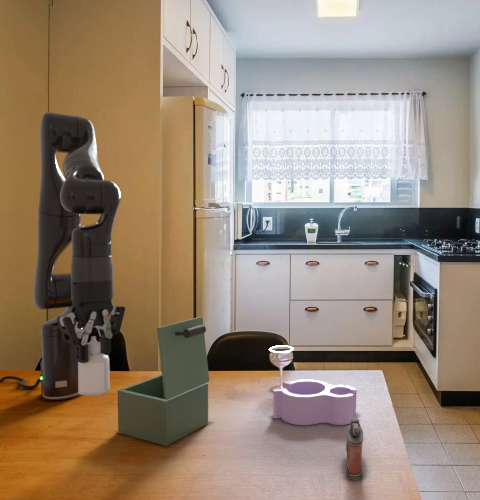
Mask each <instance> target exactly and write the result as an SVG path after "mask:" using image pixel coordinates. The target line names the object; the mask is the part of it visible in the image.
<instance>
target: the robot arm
mask: <svg viewBox="0 0 480 500" xmlns="http://www.w3.org/2000/svg"><path fill="white" fill-rule="evenodd" d="M39 151H40V156H39V157H40V158H39V159H40V182H39V196H38V197H39V198H38V206H37V207H38V209H37V251H36V252H37V253H36V261H35V270H34V278H33V287H32V288H33V289H32V297H33V303H34V305H35V307H36V308H37V309H39V310H52V309H55V310H56V309H63V308H65V310H64V311H63V312H61V313H60V314H59V315H57V316H55V317H54V318H51V319H49V320H47V321H44V322H43V323H42V324H41V326H40V333H41V361H40V373H39V378H37V379H36V382H35V384H33V385H28V384H25V383H26V379H25V378H22V377H19V376H14V375H5V376H2V377H1V378H0V383H2V382H3V381H5V380H14V381H18V382H19V383H18V386H19V387H20V388H23V389H27V390H28V389H29V390H32V389H33V390H34V389H36V388H38V386H39V385H40V388H41V389H40V392H41V394H40V395H41V396H42V399H43V400H46V401H63V400H64V401H65V400H68V399H69V400H70V399H73V398H76V397H79V396H80V395H81V394H79V392H78V362H80V363H87V362H88V345H87V343H88V340H89V336H90V334H92V332H93V328H96V330H97V333H98V335H99V337H100V338H98V342H100V353H103V354H105V355H107V356H108V357H109V356H110V353H111V352H112V338H113V336H115V335H118V334H120V332H121V328H122V323H123V321H124V317H125V312H126V307H125V306H122V305H117V304H116V305H114V303H113V299H114V263H113V256H112V251H113V250H112V238H113V237H112V235H113V228H114V223H115V220H116V216H117V214H118V211H119V207H120V204H121V200H122V199H121V198H122V194H121V190H120V188H119V186H118V185H117V184H116V183H115V182H114V181H112V180H107V179H105V177H104V173H103V171H102V168H101V166H100V163H99V159H98V143H97V136H96V130H95V126H94V124H93V122H92V121H91V120H90V119H88V118H86V117H83V116H78V115H71V114H64V113H59V112H51V111H49V112H48V111H47V112H44V113H43V114H42V115H41V118H40V124H39ZM57 153H59V154H66V155H65V157H64V159H63V161H62V170H61V168H60V166H59V164H58V160H57ZM62 171H63V172H62ZM82 215H99V217H98V219H97V221H95V222H94V223H91V224H87V225H81V223H82ZM70 245H71V263H70V272H65V273H64V272H63V273H62V272H61V273H53V271H54V268H55V265H56V263H57V261H58V260H59V258H60V257H61V256H62V254H63V253H64V252H65V250H67V248H68V247H69V246H70Z"/></svg>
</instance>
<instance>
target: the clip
mask: <svg viewBox="0 0 480 500" xmlns="http://www.w3.org/2000/svg"><path fill="white" fill-rule="evenodd" d="M282 387H283V388H281V389H274V390H273V391H272V392H273V395H272V397H273V399H272V401H273V402H272V403H273V404H272V405H273V406H272V418H273V419H281V420H283V421H284V422H285V423H288V424H291V425H298V426H310V425H311V426H312V425H316V424H322V423H323V424H324V423H327V424H330V425H336V426H343V425H344V426H345V425H351V419H352V417H357V388H356V387H354V386H351V385H347V384H346V385H345V384H331V383H327V382H326V381H322V380H318V379H297V380H292V381H289V380H282Z"/></svg>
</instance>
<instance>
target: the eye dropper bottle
mask: <svg viewBox="0 0 480 500" xmlns="http://www.w3.org/2000/svg"><path fill="white" fill-rule="evenodd" d="M86 345H88V362H87V363H80V362H78V392H79V394H80V395H81V396H91V397H92V396H93V397H94V396H102V395H106V394H107V393H109V392H110V390H111V379H110V375H111V374H110V373H111V372H110V371H111V367H110V357H109V356H107V355H105V354H103V353H100V342H99V340H97V336H96V335H93V336H91V337H90V341H89V342H87V344H86Z"/></svg>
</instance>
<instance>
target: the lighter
mask: <svg viewBox="0 0 480 500" xmlns="http://www.w3.org/2000/svg"><path fill="white" fill-rule="evenodd" d="M345 434H346V435H345V437H346V440H345V442H346V443H345V451H346V459H345V473H346V476H347V478H348V479H350V480H355V481H356V480H359V479H361V478H362V476H363V461H362V460H363V459H362V458H363V442H364V430H363V427H362V426H361V423H360V419H359V418H358V416H355V417H352V419H351V423H350V424H348V425H347V428H346V433H345Z"/></svg>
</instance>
